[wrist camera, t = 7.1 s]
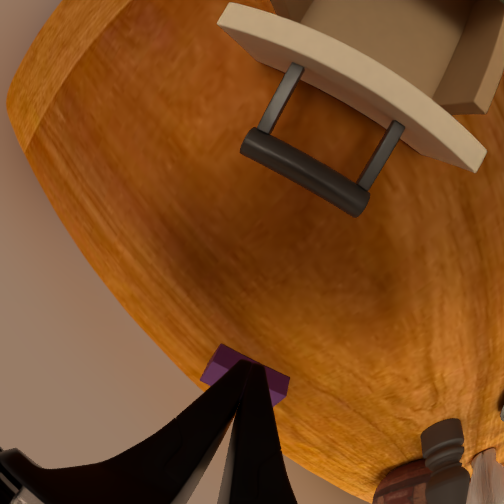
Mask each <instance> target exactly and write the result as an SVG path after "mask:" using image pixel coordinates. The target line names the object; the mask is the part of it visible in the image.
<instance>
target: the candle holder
mask: <svg viewBox="0 0 504 504" xmlns="http://www.w3.org/2000/svg"><path fill="white" fill-rule="evenodd" d="M463 443H464V436H463V431H462V426H461V422H460V420H459V419H453V418H452V419H447V420H443V421H441V422H438V423H436V424H434V425H432V426H430V427H429V428H427V429H426V430H425V431H424V432H423V433H422V434H421V444H422V454H423V458H425V459H427V460H426V461H425V466H426V467H428V468H429V470H431V471H432V473H431V475H430V476H431V477H432V478H431V479H430V480H429V482H428V484H427V486H426V489H425V496H426V500H427V503H428V504H466V500H467V495H468V489H469V483H470V474H469V472H468V471H467V470H466V469H465V468H463V467H461V466H462V463H460V462H459V461H460V459H461V457H462V454H463V452H464V447H463V446H461V445H462V444H463Z"/></svg>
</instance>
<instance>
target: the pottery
mask: <svg viewBox="0 0 504 504" xmlns="http://www.w3.org/2000/svg"><path fill="white" fill-rule="evenodd" d="M426 460H427V459H421V460H417V461H414V462H410V463H407V464H405V465H402V466H400V467H398V468H396V469H394V470H392V471H391V472H390V473H388V474H387V475H386V477H385V478H384V479H383V480H382V481H381V482H380V484H379V486H378V487H377V489H376V491H375V494H374V497H373V502H372V504H428V503H427V500H426V496H425V489H426V486H427V484H428V482H429V480H430V479H431V478H432V477H431V476H430V475H431V473H432V471H431V470H429V468H428V467H426V466H425V461H426Z"/></svg>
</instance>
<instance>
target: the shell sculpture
mask: <svg viewBox="0 0 504 504" xmlns="http://www.w3.org/2000/svg"><path fill="white" fill-rule="evenodd" d="M483 453H484V455H482V454H483ZM471 465H472V468H473V474H472V477H471V482H470V484H469V489H468V495H467V500H466V503H467V504H503V503H504V467H503V466H502V464H501V463H498V462H497V461H496V450H495V448H491V449H488V450H486V451H483V452H481V453H479V454H478V455H477V456H476V457H475V458H474V459H473V460H472V463H471ZM485 471H486V472H485Z"/></svg>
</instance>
